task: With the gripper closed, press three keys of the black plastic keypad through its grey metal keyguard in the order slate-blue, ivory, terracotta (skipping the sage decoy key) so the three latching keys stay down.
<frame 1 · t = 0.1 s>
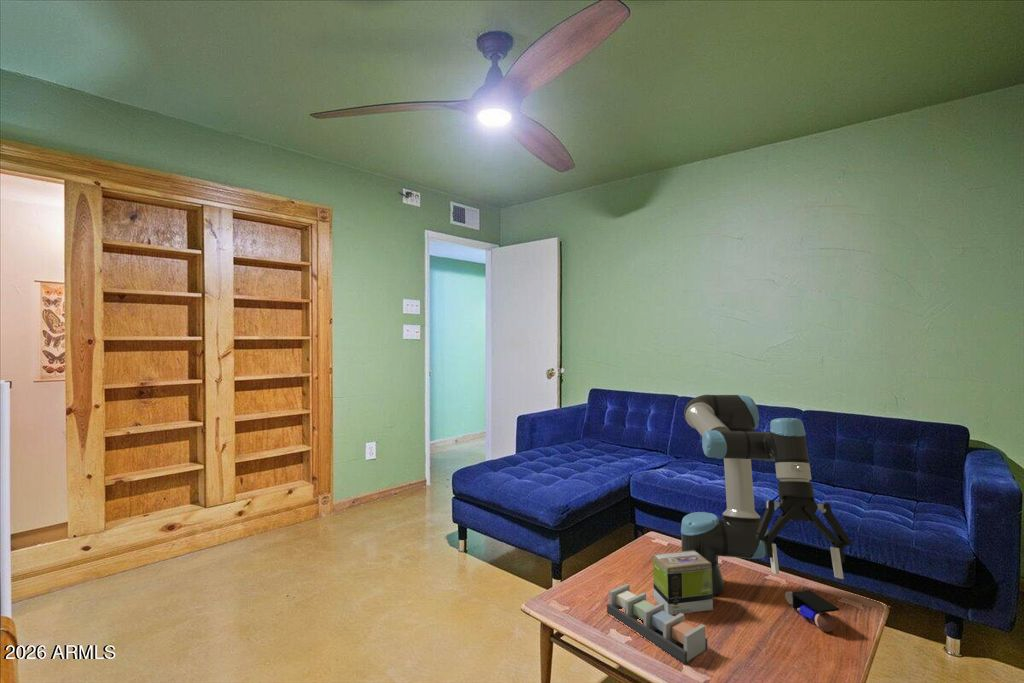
hand: (807, 575, 110), 28 cm above the table, tool tilted 20°, fingers open, 13 cm apart
keypad base: (654, 631, 135), on the table
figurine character: (811, 620, 140), on the table
ivory key: (627, 600, 143), point 4 cm above the table, slide at 0.0 cm
tea box: (682, 605, 148), on the table
terracotta key: (684, 633, 126), point 4 cm above the table, slide at 0.0 cm
slate key: (663, 621, 132), point 4 cm above the table, slide at 0.0 cm
sage key: (644, 610, 137), point 4 cm above the table, slide at 0.0 cm
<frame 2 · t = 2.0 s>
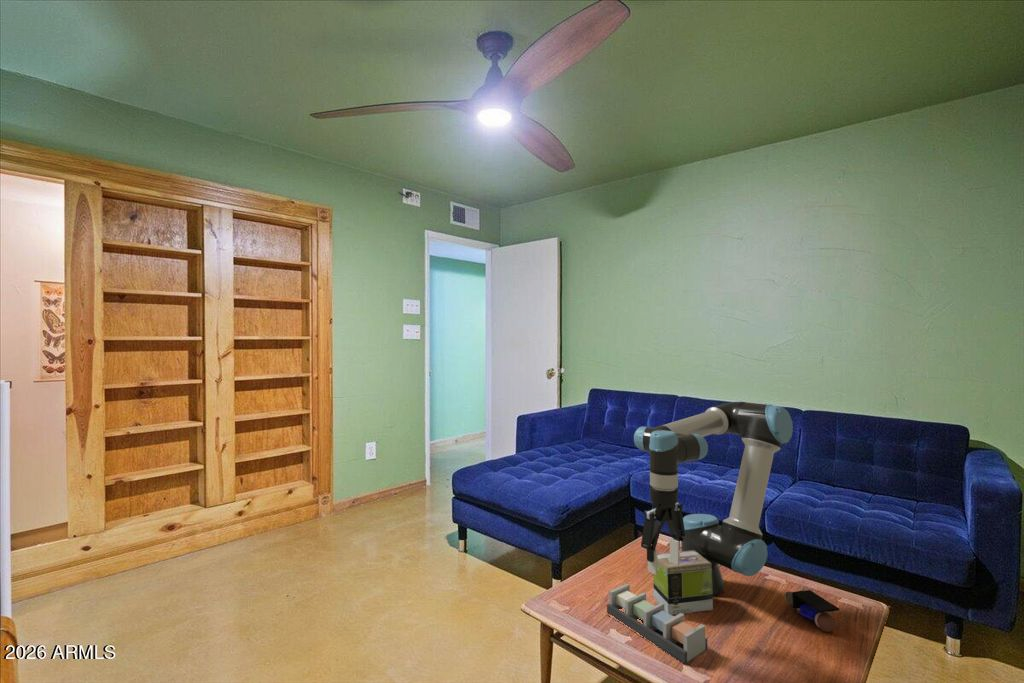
hand: (663, 567, 132), 19 cm above the table, tool pointing down, fingers open, 9 cm apart
nothing on the table moved.
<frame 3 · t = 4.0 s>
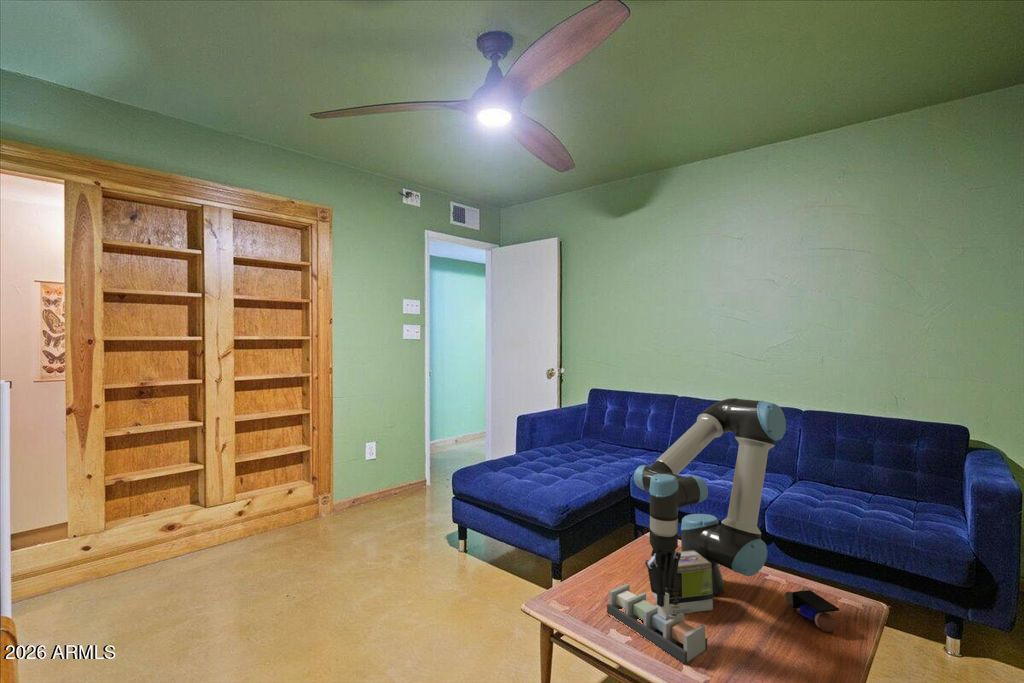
hand: (663, 616, 132), 6 cm above the table, tool pointing down, fingers closed
slate key: (663, 621, 132), point 4 cm above the table, slide at 0.1 cm, touching gripper
everything else where it was.
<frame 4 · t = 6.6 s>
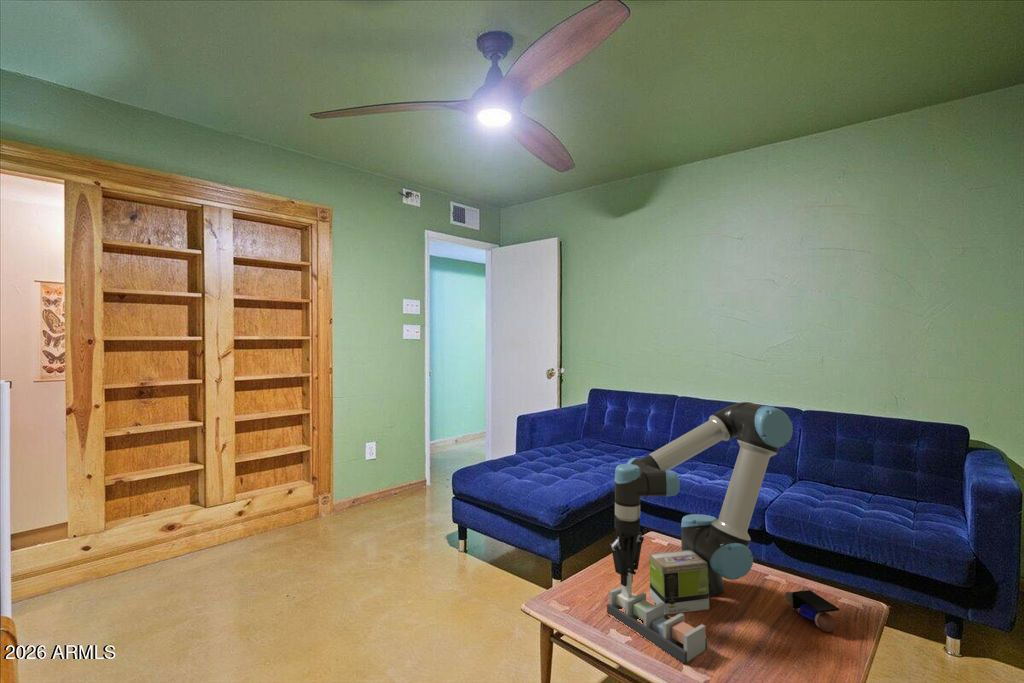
hand: (626, 594, 143), 6 cm above the table, tool pointing down, fingers closed
ivory key: (627, 600, 143), point 4 cm above the table, slide at 0.0 cm, touching gripper
tea box: (678, 605, 148), on the table
slate key: (663, 628, 132), point 2 cm above the table, slide at 2.0 cm
everything else where it was.
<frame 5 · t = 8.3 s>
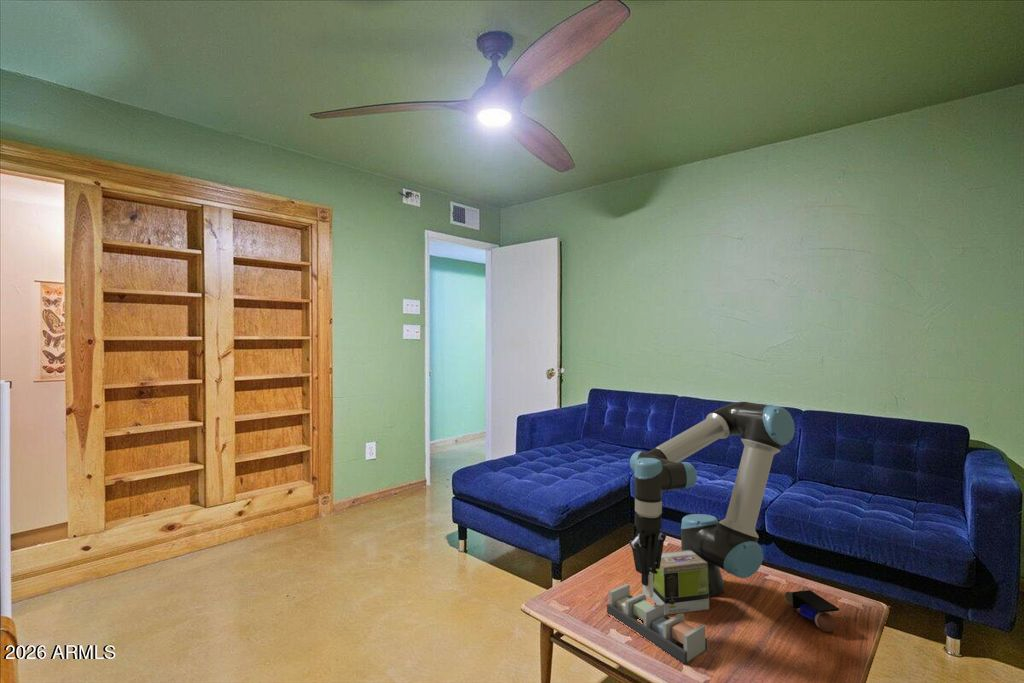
hand: (647, 595, 136), 10 cm above the table, tool pointing down, fingers closed
ivory key: (627, 606, 143), point 2 cm above the table, slide at 2.0 cm
everything else where it was.
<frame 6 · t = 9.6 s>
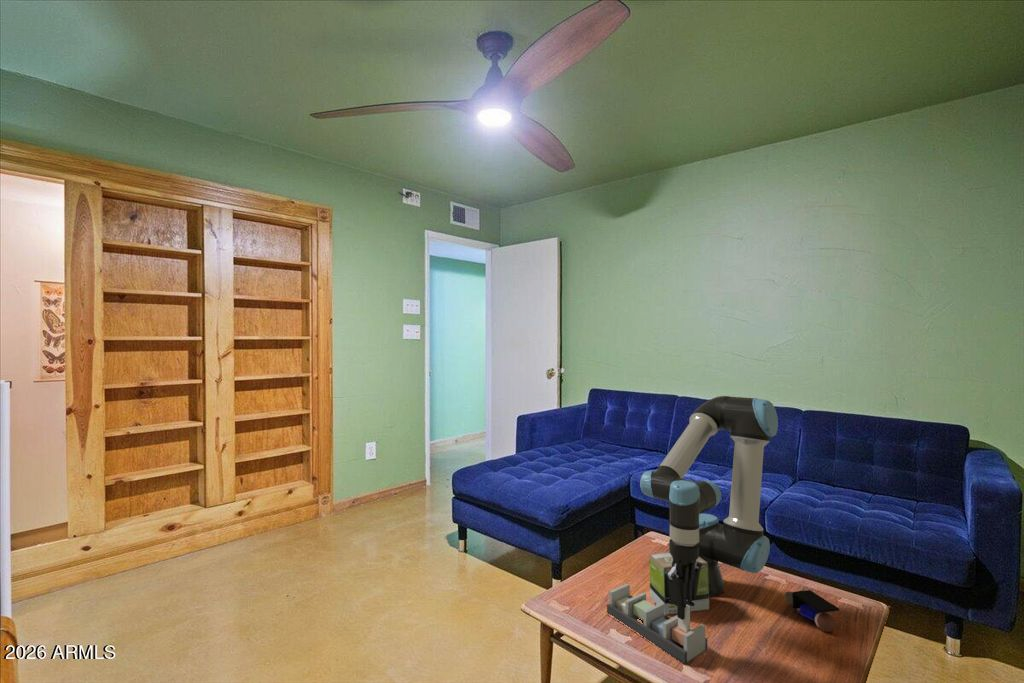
hand: (683, 629, 126), 6 cm above the table, tool pointing down, fingers closed
terracotta key: (684, 634, 126), point 4 cm above the table, slide at 0.4 cm, touching gripper
everything else where it was.
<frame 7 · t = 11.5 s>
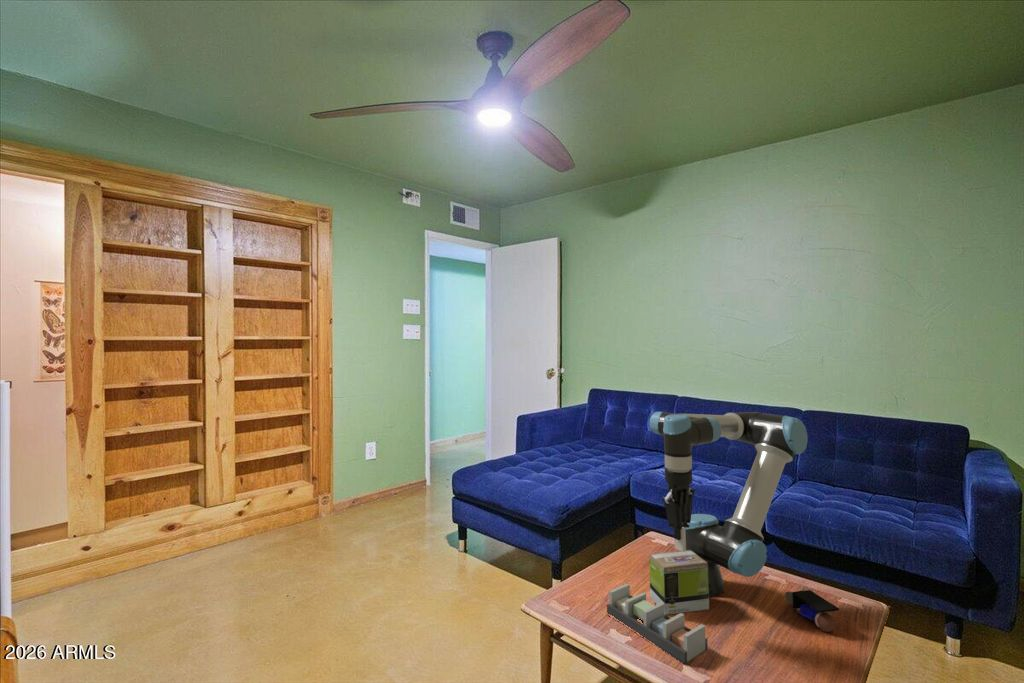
hand: (680, 549, 137), 22 cm above the table, tool pointing down, fingers closed
terracotta key: (684, 640, 126), point 2 cm above the table, slide at 2.0 cm
everything else where it was.
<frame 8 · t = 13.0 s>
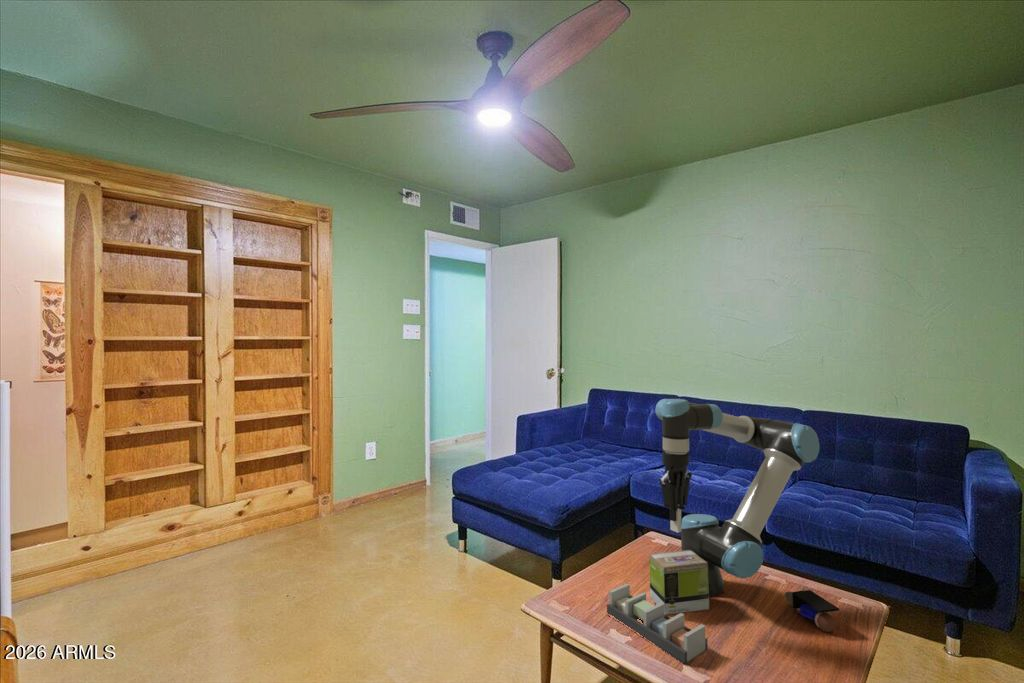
hand: (675, 530, 140), 26 cm above the table, tool pointing down, fingers closed
nothing on the table moved.
at the end: slate key slide at 2.0 cm; ivory key slide at 2.0 cm; terracotta key slide at 2.0 cm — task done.
